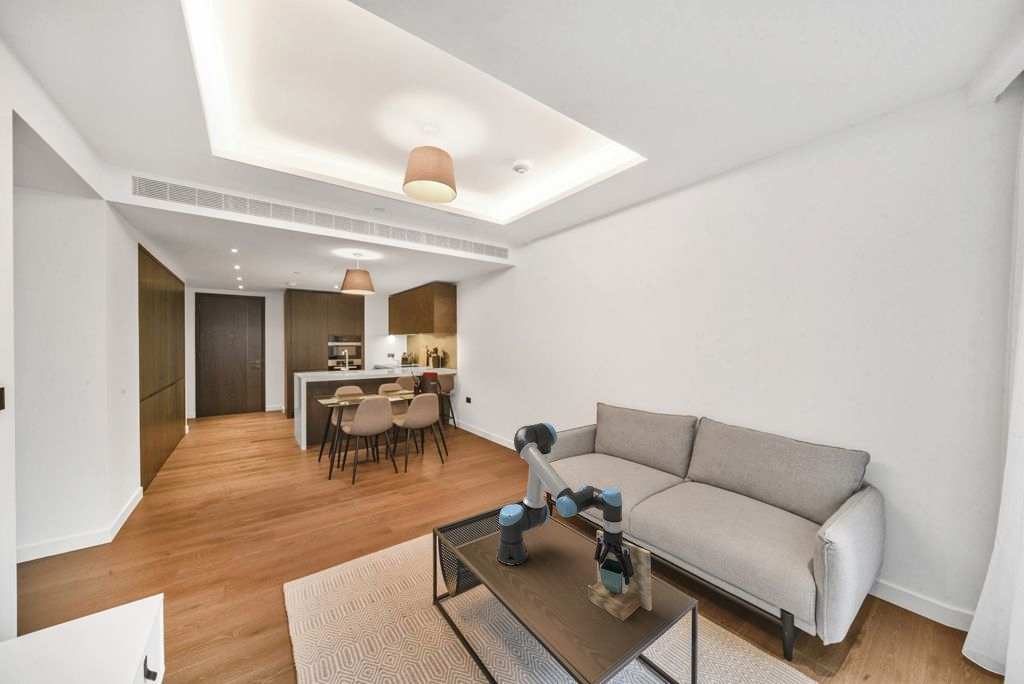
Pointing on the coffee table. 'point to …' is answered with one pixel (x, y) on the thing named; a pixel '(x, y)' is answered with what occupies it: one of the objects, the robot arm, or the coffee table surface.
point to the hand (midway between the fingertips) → (613, 585)
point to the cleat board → (637, 587)
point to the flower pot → (611, 575)
